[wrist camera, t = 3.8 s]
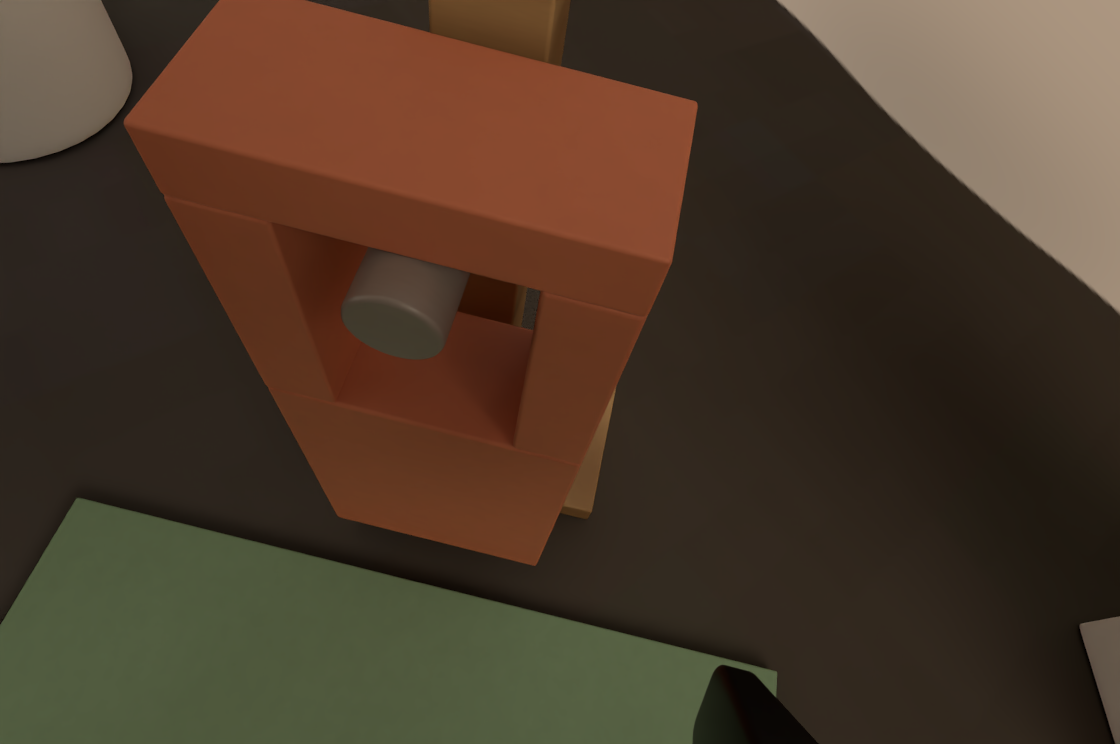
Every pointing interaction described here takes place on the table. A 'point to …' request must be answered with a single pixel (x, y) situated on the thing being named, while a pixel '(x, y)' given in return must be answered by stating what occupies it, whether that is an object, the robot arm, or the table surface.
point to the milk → (1105, 665)
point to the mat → (309, 652)
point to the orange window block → (420, 248)
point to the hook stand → (438, 291)
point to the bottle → (57, 75)
